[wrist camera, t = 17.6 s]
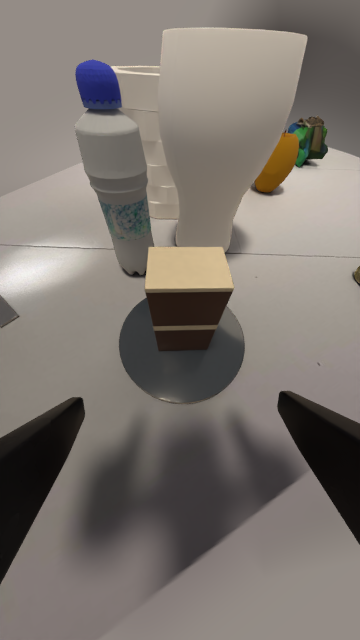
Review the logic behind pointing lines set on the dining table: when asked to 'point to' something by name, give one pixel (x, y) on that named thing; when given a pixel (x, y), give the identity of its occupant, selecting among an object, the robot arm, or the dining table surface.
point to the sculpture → (309, 139)
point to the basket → (149, 135)
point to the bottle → (114, 164)
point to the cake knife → (6, 313)
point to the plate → (180, 359)
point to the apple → (279, 163)
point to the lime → (357, 275)
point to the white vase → (222, 119)
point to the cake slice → (186, 295)
